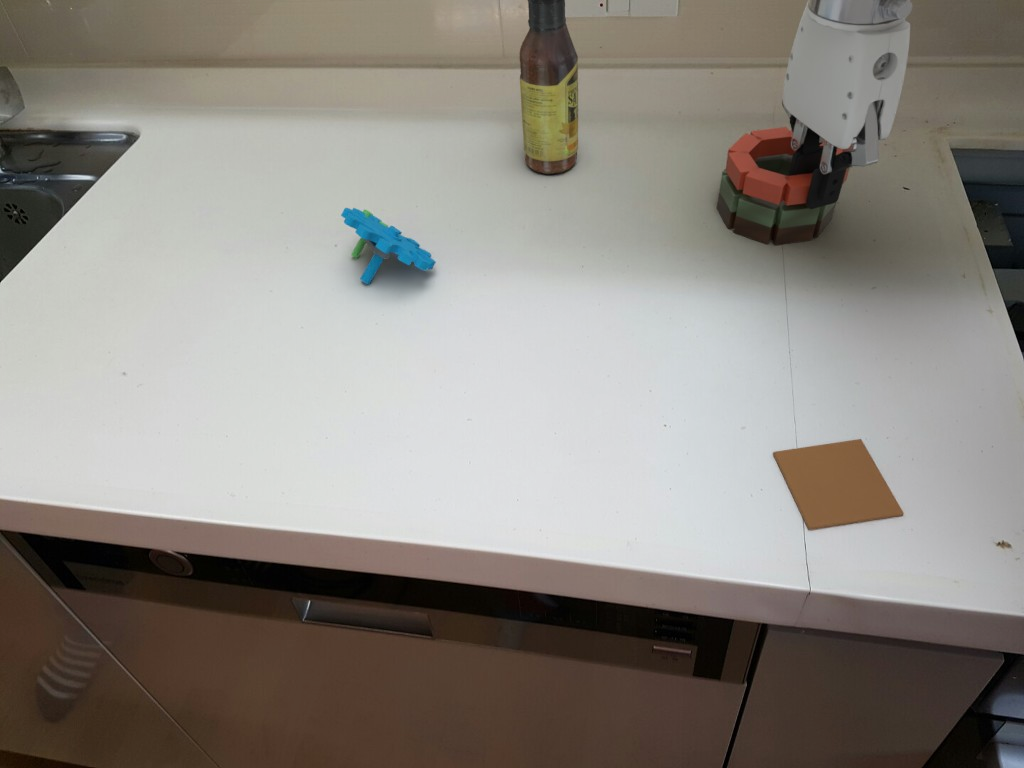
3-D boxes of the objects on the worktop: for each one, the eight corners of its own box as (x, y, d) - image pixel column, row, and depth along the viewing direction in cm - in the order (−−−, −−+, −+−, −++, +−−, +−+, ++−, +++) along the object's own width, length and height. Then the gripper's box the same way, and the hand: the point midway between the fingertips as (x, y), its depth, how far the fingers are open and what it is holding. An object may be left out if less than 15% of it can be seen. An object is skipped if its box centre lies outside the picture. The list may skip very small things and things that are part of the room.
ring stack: (803, 177, 86) (811, 144, 83) (846, 236, 79) (856, 202, 76) (706, 189, 86) (710, 157, 83) (739, 250, 78) (746, 216, 75)
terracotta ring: (816, 139, 83) (820, 122, 81) (862, 196, 75) (867, 177, 73) (714, 152, 82) (716, 135, 81) (750, 210, 74) (753, 192, 73)
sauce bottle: (581, 174, 89) (583, -9, 75) (526, 179, 89) (517, -4, 75) (574, 144, 94) (574, -34, 79) (522, 149, 94) (512, -29, 79)
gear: (454, 270, 76) (368, 229, 69) (422, 321, 77) (335, 285, 71) (412, 226, 84) (332, 185, 77) (385, 273, 85) (303, 237, 79)
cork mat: (860, 441, 61) (861, 438, 61) (902, 515, 56) (904, 513, 56) (772, 454, 61) (773, 451, 61) (808, 530, 56) (809, 528, 56)
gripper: (972, 21, 58) (899, 231, 71) (838, -44, 68) (796, 148, 82) (885, 41, 56) (827, 251, 69) (762, -28, 67) (732, 165, 80)
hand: (811, 194), depth 75 cm, fingers closed on terracotta ring, 2 cm apart
